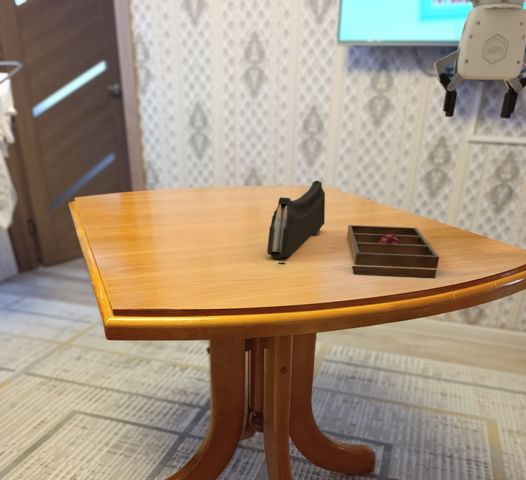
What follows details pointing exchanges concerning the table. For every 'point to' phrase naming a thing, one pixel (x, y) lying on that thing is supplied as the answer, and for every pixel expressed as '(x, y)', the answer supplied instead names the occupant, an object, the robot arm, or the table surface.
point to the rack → (391, 252)
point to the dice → (389, 239)
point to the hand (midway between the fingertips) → (476, 117)
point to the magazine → (296, 222)
